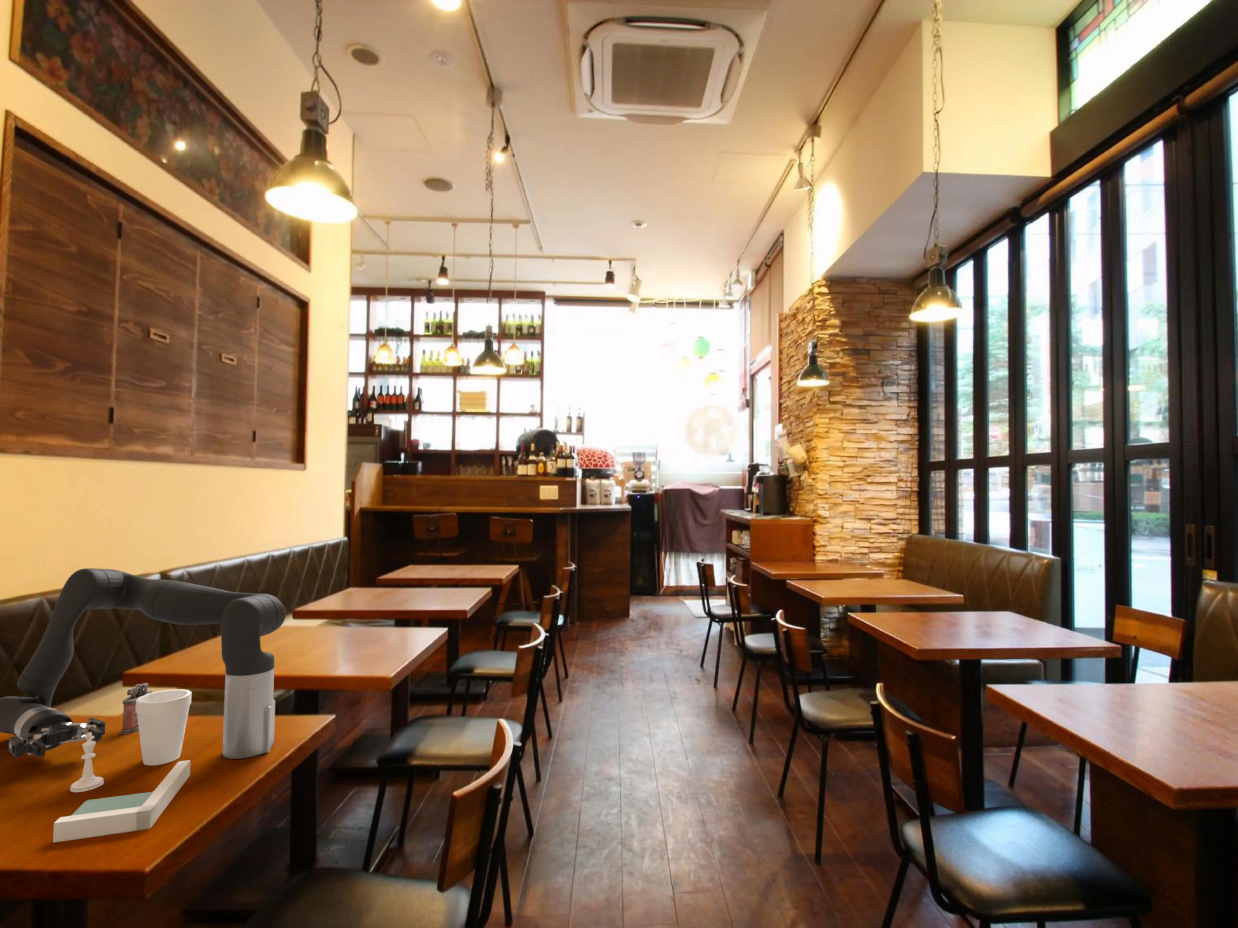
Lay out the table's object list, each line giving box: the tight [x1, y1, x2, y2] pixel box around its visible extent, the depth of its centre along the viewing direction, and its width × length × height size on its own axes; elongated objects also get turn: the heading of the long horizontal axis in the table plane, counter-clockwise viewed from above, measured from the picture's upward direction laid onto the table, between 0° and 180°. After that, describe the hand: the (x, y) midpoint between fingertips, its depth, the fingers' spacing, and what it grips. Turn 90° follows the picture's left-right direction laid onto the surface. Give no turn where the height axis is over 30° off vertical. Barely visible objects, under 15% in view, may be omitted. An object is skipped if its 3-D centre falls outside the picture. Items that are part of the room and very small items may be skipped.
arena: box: [52, 759, 191, 843], centre depth 112 cm, size 14×21×3 cm, turn 19°
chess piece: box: [69, 732, 105, 793], centre depth 119 cm, size 5×5×10 cm
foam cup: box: [136, 688, 192, 766], centre depth 132 cm, size 10×9×13 cm
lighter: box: [120, 682, 154, 735], centre depth 150 cm, size 8×3×10 cm, turn 5°
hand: (71, 743), depth 124 cm, fingers open, 8 cm apart
